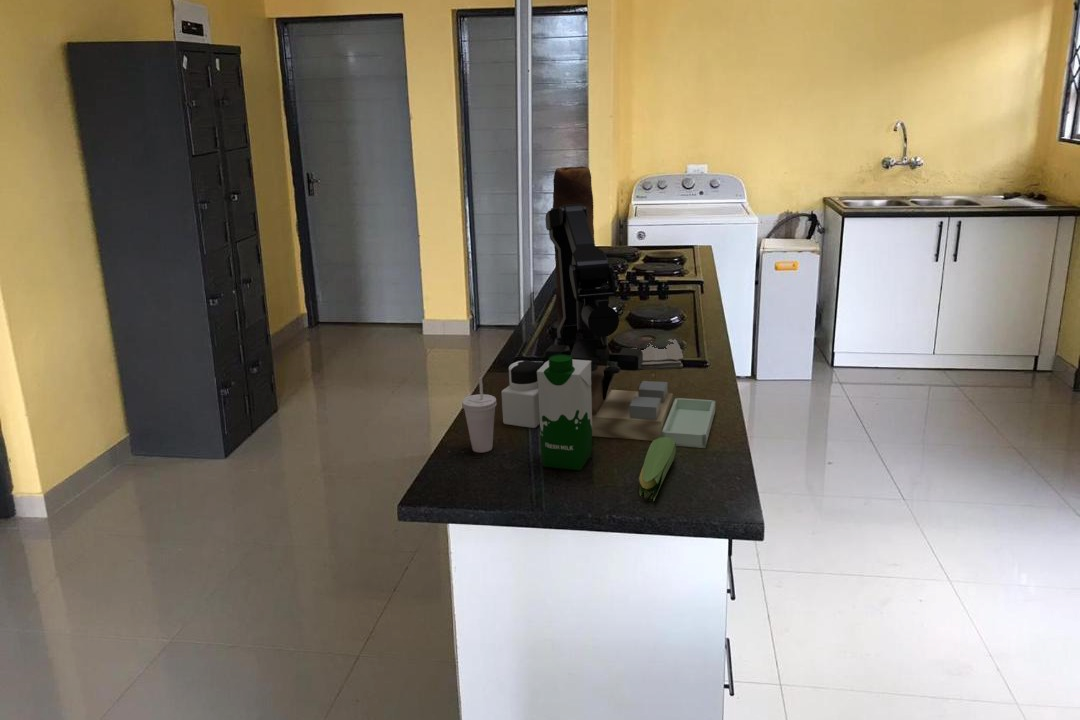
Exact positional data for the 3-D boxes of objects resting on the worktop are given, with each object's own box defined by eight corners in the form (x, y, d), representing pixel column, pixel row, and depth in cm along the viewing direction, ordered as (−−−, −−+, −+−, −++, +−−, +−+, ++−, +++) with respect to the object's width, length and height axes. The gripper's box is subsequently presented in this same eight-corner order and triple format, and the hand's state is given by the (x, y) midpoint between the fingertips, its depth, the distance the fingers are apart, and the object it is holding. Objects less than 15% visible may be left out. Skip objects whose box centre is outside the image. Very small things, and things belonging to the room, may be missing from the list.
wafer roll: (554, 356, 213) (547, 169, 199) (560, 343, 223) (554, 165, 209) (596, 356, 211) (592, 168, 197) (600, 343, 221) (597, 164, 207)
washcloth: (634, 372, 200) (634, 360, 199) (627, 349, 217) (627, 337, 217) (686, 370, 200) (686, 357, 199) (675, 347, 217) (675, 335, 216)
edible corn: (682, 435, 153) (658, 426, 154) (661, 488, 135) (633, 478, 136) (674, 459, 155) (650, 450, 156) (652, 515, 138) (625, 504, 138)
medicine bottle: (550, 415, 176) (547, 359, 172) (535, 428, 170) (532, 370, 166) (518, 411, 179) (515, 356, 175) (502, 424, 172) (499, 367, 169)
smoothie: (494, 456, 158) (490, 384, 154) (460, 454, 159) (455, 383, 155) (503, 442, 164) (498, 372, 160) (470, 440, 165) (465, 371, 161)
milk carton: (536, 468, 152) (531, 360, 146) (552, 448, 160) (548, 344, 154) (584, 473, 150) (581, 364, 143) (598, 452, 158) (595, 347, 151)
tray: (661, 444, 160) (661, 432, 159) (675, 409, 176) (675, 397, 175) (705, 448, 158) (705, 435, 157) (715, 412, 174) (715, 400, 173)
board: (572, 434, 166) (572, 415, 165) (590, 406, 180) (590, 388, 178) (661, 441, 161) (661, 421, 160) (672, 412, 175) (672, 393, 174)
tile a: (638, 401, 170) (638, 389, 170) (642, 392, 175) (642, 380, 174) (663, 402, 169) (663, 390, 168) (667, 394, 173) (667, 382, 173)
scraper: (575, 413, 165) (574, 388, 163) (592, 388, 178) (591, 365, 176) (595, 414, 164) (595, 390, 162) (611, 389, 177) (610, 366, 175)
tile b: (629, 418, 162) (629, 405, 161) (634, 408, 167) (634, 396, 166) (656, 420, 161) (656, 407, 160) (660, 410, 165) (660, 398, 164)
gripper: (533, 332, 161) (536, 410, 166) (632, 336, 156) (633, 417, 161) (549, 316, 171) (552, 390, 176) (643, 319, 166) (643, 396, 171)
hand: (593, 398), depth 171 cm, fingers closed on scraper, 4 cm apart
